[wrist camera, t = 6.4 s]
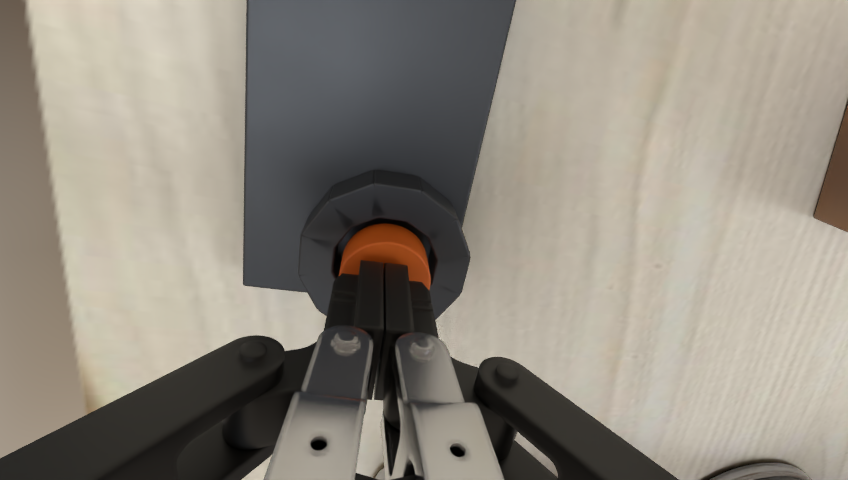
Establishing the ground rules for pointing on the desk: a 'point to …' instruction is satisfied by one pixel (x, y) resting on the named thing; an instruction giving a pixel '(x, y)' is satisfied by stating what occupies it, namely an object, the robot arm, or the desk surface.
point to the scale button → (387, 251)
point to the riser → (836, 184)
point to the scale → (364, 132)
